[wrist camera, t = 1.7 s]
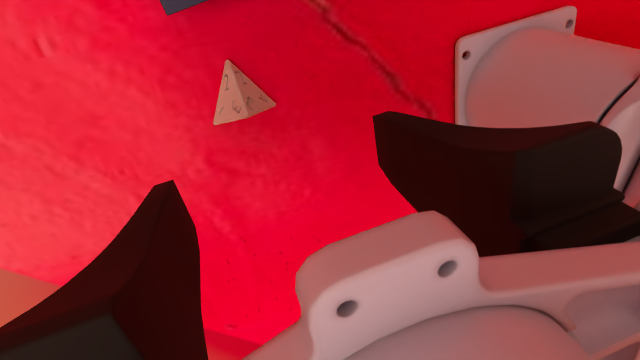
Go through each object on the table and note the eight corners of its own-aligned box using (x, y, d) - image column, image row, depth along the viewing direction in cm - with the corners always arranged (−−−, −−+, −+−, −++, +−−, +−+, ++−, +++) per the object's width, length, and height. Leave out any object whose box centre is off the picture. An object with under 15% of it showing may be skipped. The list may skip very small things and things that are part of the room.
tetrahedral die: (258, 126, 23) (286, 150, 21) (212, 124, 21) (238, 150, 19) (273, 66, 21) (305, 86, 19) (225, 58, 19) (254, 79, 17)
